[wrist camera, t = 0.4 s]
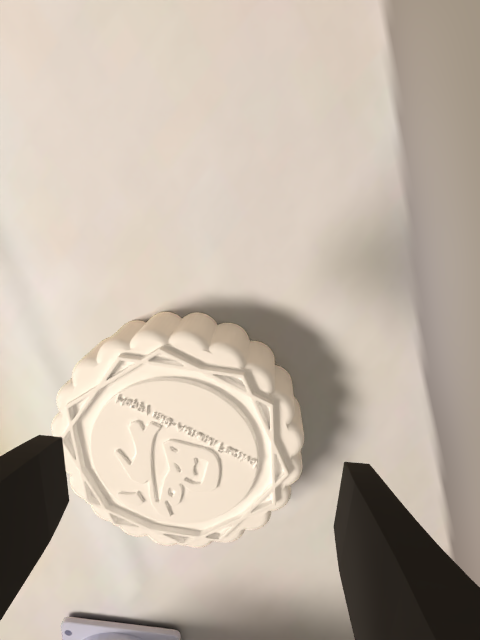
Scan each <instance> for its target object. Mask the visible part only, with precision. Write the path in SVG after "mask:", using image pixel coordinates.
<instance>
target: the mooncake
mask: <svg viewBox="0 0 480 640" xmlns="http://www.w3.org/2000/svg"><path fill="white" fill-rule="evenodd" d="M56 401H57V406H58V409H59V411H60V412H59V413H58V414H57V415H56V416H55V417H54V419H53V421H52V425H51V430H52V434H53V436H55V437H62V440H63V450H64V459H65V468H66V472H67V473H69V474H71V476H70V485H71V488H72V490H73V491H74V492H75V494H77V495H78V496H79V497H81V498H83V499H85V501H86V503H88V504H91V507H92V509H93V511H94V512H95V514H96V515H97V516H98V517H100V518H102V519H104V520H106V521H111V522H112V523H113V525H114V526H119V527H120V528H121V529H122V530H123V531H124V532H125V533H127V534H128V535H131V536H135V537H142V536H146V535H147V536H149V537H150V538H151V539H152V540H153V541H154V542H156V543H157V544H160V545H164V546H171V545H175V544H177V543H178V544H180V545H182V546H186V545H187V546H190V547H194V548H200V547H205V546H207V545H209V544H210V543H211V542H212V541H215V542H232V541H235V540H237V539H238V538H240V537H241V536H242V534H243V533H244V530H245V529H247V530H255V529H259V528H261V527H263V526H264V525H265V524H266V523H267V522H268V521H269V519H270V516H271V511H274V510H278V509H280V508H282V507H283V506H285V505H286V503H287V502H288V501H289V499H290V495H291V486H290V485H291V484H293V483H294V482H296V481H297V480H298V478H299V477H300V475H301V473H302V468H303V467H302V457H301V449H302V447H303V444H304V431H303V424H302V417H301V410H300V405H299V403H298V401H297V399H296V398H295V397H294V394H293V385H292V379H291V377H290V375H289V373H288V372H287V371H286V370H285V369H284V368H282V367H280V366H277V365H275V358H274V354H273V352H272V350H271V349H270V348H269V347H268V346H267V345H266V344H264V343H262V342H259V341H249V337H248V335H247V333H246V331H245V330H244V329H243V328H242V327H240V326H239V325H237V324H234V323H222V324H219V325H217V323H216V322H215V320H214V319H213V318H212V317H210V316H209V315H207V314H204V313H198V312H197V313H191V314H188V315H186V316H185V317H183V318H181V317H180V316H178V315H177V314H174V313H171V312H160V313H157V314H155V315H154V316H152V317H151V318H150V319H149V320H148V322H147V323H146V322H144V321H140V320H134V321H130V322H128V323H126V324H124V325H123V326H122V327H121V328H120V329H119V330H118V331H117V332H116V333H115V334H114V335H112V336H111V337H109V338H106V339H104V340H102V341H101V342H100V343H99V344H98V345H97V346H95V347H94V348H93V349H92V350H91V351H90V352H89V353H88V354H87V355H85V356H84V357H83V358H82V359H81V360H80V361H79V362H78V363H77V364H76V365H75V367H74V369H73V372H72V378H71V379H70V380H69V381H68V382H67V383H66V384H65V385H63V386H62V388H61V389H60V390H59V392H58V394H57V400H56Z"/></svg>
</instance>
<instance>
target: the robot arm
mask: <svg viewBox="0 0 480 640" xmlns="http://www.w3.org/2000/svg"><path fill="white" fill-rule="evenodd" d="M68 502H69V495H68V486H67V477H66V468H65V459H64V450H63V440H62V437H55V436H44V435H38V436H36V437H34V438H32V439H31V440H29V441H27V442H25V443H23V444H21V445H20V446H18V447H16V448H14V449H12V450H11V451H9V452H7V453H6V454H4V455H2V456H0V620H1V619H2V617H3V616H4V614H5V612H6V611H7V609H8V608H9V606H10V605H11V603H12V601H13V600H14V598H15V597H16V595H17V593H18V592H19V590H20V589H21V587H22V586H23V584H24V582H25V581H26V579H27V578H28V576H29V574H30V573H31V571H32V570H33V568H34V566H35V565H36V563H37V562H38V560H39V558H40V557H41V555H42V554H43V552H44V550H45V549H46V547H47V545H48V544H49V542H50V540H51V538H52V536H53V534H54V532H55V530H56V528H57V526H58V524H59V522H60V520H61V518H62V515H63V513H64V511H65V509H66V507H67V505H68ZM334 533H335V542H336V550H337V558H338V566H339V572H340V577H341V581H342V586H343V590H344V594H345V599H346V603H347V607H348V612H349V616H350V620H351V625H352V629H353V633H354V637H355V640H480V587H478V586H477V585H476V584H475V583H474V582H473V581H472V580H471V579H470V578H469V577H468V576H467V575H466V574H465V573H464V571H463V570H462V569H461V568H460V567H459V566H458V565H457V564H456V563H455V562H454V561H453V560H452V559H451V558H450V557H449V556H448V555H447V554H446V553H445V552H444V551H443V550H442V549H441V548H440V546H439V545H438V544H437V543H436V542H435V541H434V540H433V539H432V538H431V537H430V535H429V534H428V533H427V532H426V531H425V530H424V529H423V528H422V526H421V525H420V524H419V523H418V522H417V521H416V520H415V518H414V517H413V516H412V515H411V514H410V513H409V511H408V510H407V509H406V508H405V507H404V505H403V504H402V503H401V502H400V501H399V499H398V498H397V497H396V496H395V495H394V493H393V492H392V491H391V490H390V489H389V487H388V486H387V485H386V484H385V482H384V481H383V480H382V479H381V478H380V476H379V475H378V474H377V473H376V472H375V470H374V469H373V468H372V467H371V466H370V464H363V463H351V462H344V467H343V473H342V479H341V485H340V491H339V498H338V504H337V510H336V516H335V522H334ZM61 631H62V640H181V634H180V633H179V631H177V630H174V629H167V628H158V627H150V626H142V625H134V624H125V623H117V622H109V621H101V620H93V619H84V618H76V617H66V618H64V619H63V621H62V624H61Z"/></svg>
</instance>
